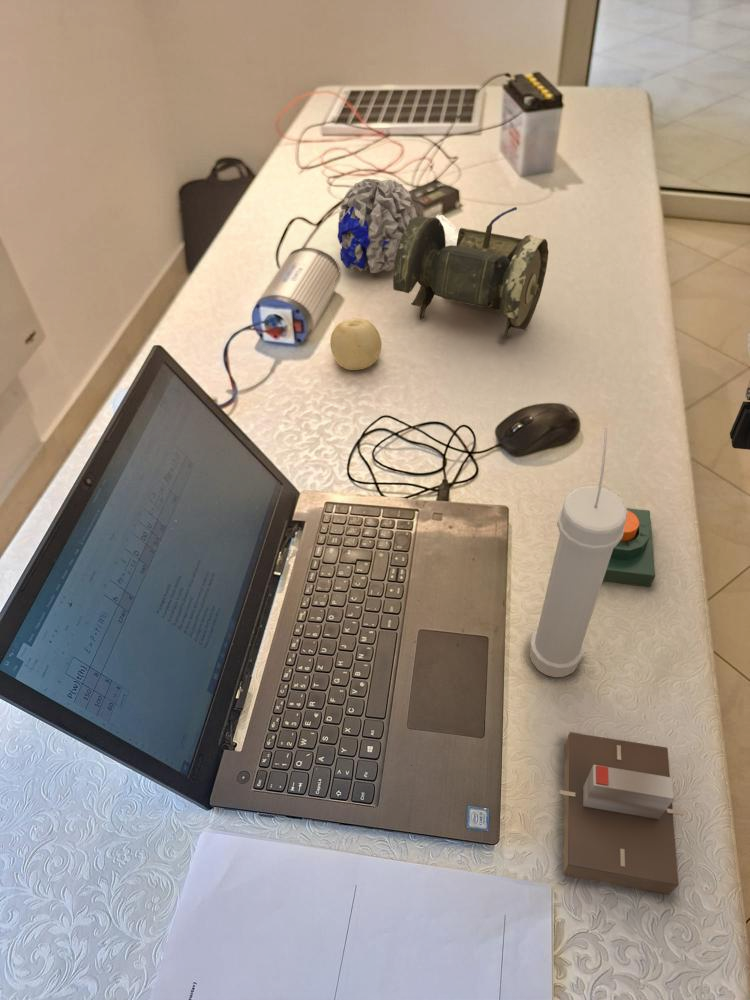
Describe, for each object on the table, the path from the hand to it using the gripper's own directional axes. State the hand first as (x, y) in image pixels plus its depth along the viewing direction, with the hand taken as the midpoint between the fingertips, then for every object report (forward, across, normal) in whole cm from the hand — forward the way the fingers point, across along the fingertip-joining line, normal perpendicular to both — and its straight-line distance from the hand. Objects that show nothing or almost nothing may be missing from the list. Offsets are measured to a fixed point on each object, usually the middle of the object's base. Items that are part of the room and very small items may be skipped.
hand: (749, 443), depth 64 cm
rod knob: (+22, -25, +8) cm, 34 cm away
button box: (+24, +7, +7) cm, 26 cm away
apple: (+24, +39, +45) cm, 64 cm away
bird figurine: (+24, +74, +35) cm, 85 cm away
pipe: (+25, -9, +13) cm, 30 cm away
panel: (+25, -25, +8) cm, 36 cm away
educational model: (+24, +71, +48) cm, 89 cm away
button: (+21, +7, +7) cm, 23 cm away
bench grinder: (+24, +54, +28) cm, 66 cm away
